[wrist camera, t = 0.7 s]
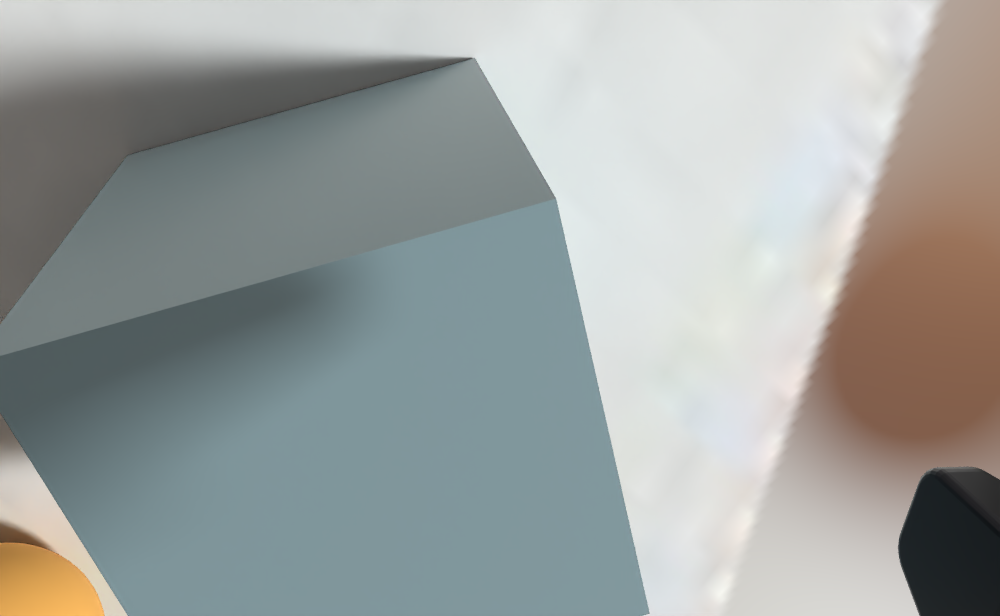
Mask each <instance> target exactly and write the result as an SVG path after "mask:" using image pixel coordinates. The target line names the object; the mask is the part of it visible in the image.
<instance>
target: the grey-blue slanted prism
mask: <svg viewBox="0 0 1000 616" xmlns="http://www.w3.org/2000/svg"><path fill="white" fill-rule="evenodd" d="M0 413H1V415H2V416H3V418H4V420H5V421H6V423H7V424H8V426H9V427H10V429H11V431H12V432H13V434H14V435H15V437H16V439H17V440H18V442H19V443H20V445H21V447H22V448H23V450H24V451H25V453H26V454H27V456H28V458H29V459H30V461H31V462H32V464H33V466H34V467H35V469H36V470H37V472H38V474H39V475H40V477H41V478H42V480H43V482H44V483H45V485H46V486H47V488H48V489H49V491H50V493H51V494H52V496H53V497H54V499H55V501H56V502H57V504H58V505H59V507H60V509H61V510H62V512H63V513H64V515H65V516H66V518H67V520H68V521H69V523H70V524H71V526H72V528H73V529H74V531H75V532H76V534H77V536H78V537H79V539H80V540H81V542H82V543H83V545H84V547H85V548H86V550H87V551H88V553H89V555H90V556H91V558H92V559H93V561H94V563H95V564H96V566H97V567H98V569H99V571H100V572H101V574H102V575H103V577H104V578H105V580H106V582H107V583H108V585H109V586H110V588H111V590H112V591H113V593H114V594H115V596H116V598H117V599H118V601H119V602H120V604H121V605H122V607H123V609H124V610H125V612H126V613H127V615H128V616H643V615H646V614H649V609H648V605H647V600H646V596H645V591H644V587H643V582H642V578H641V574H640V569H639V565H638V560H637V556H636V551H635V547H634V543H633V538H632V534H631V529H630V525H629V520H628V516H627V511H626V507H625V503H624V498H623V494H622V489H621V485H620V480H619V476H618V472H617V467H616V463H615V458H614V454H613V449H612V445H611V440H610V436H609V432H608V427H607V423H606V418H605V414H604V409H603V405H602V401H601V396H600V392H599V387H598V383H597V378H596V374H595V369H594V365H593V361H592V356H591V352H590V347H589V343H588V338H587V334H586V330H585V325H584V321H583V316H582V312H581V307H580V303H579V299H578V294H577V290H576V285H575V281H574V276H573V272H572V267H571V263H570V259H569V254H568V250H567V245H566V241H565V236H564V232H563V228H562V223H561V219H560V214H559V210H558V205H557V201H556V198H555V196H554V194H553V193H552V191H551V189H550V187H549V186H548V184H547V182H546V180H545V179H544V177H543V175H542V174H541V172H540V170H539V168H538V167H537V165H536V163H535V161H534V160H533V158H532V156H531V155H530V153H529V151H528V149H527V148H526V146H525V144H524V142H523V141H522V139H521V137H520V136H519V134H518V132H517V130H516V129H515V127H514V125H513V123H512V122H511V120H510V118H509V116H508V115H507V113H506V111H505V110H504V108H503V106H502V104H501V103H500V101H499V99H498V97H497V96H496V94H495V92H494V91H493V89H492V87H491V85H490V84H489V82H488V80H487V78H486V77H485V75H484V73H483V72H482V70H481V68H480V66H479V65H478V63H477V61H476V59H475V58H473V59H470V60H466V61H462V62H459V63H455V64H452V65H448V66H445V67H441V68H437V69H434V70H430V71H427V72H423V73H420V74H416V75H412V76H409V77H405V78H402V79H398V80H395V81H391V82H387V83H384V84H380V85H377V86H373V87H370V88H366V89H362V90H359V91H355V92H352V93H348V94H345V95H341V96H337V97H334V98H330V99H327V100H323V101H320V102H316V103H312V104H309V105H305V106H302V107H298V108H295V109H291V110H288V111H284V112H280V113H277V114H273V115H270V116H266V117H263V118H259V119H255V120H252V121H248V122H245V123H241V124H238V125H234V126H230V127H227V128H223V129H220V130H216V131H213V132H209V133H205V134H202V135H198V136H195V137H191V138H188V139H184V140H180V141H177V142H173V143H170V144H166V145H163V146H159V147H155V148H152V149H148V150H145V151H141V152H138V153H134V154H130V155H127V156H126V158H125V159H124V160H123V162H122V163H121V164H120V166H119V167H118V168H117V170H116V171H115V172H114V174H113V175H112V176H111V178H110V179H109V180H108V182H107V183H106V184H105V186H104V187H103V188H102V190H101V191H100V192H99V194H98V195H97V196H96V198H95V199H94V200H93V202H92V203H91V204H90V206H89V207H88V208H87V210H86V211H85V212H84V214H83V215H82V216H81V218H80V219H79V220H78V222H77V223H76V224H75V226H74V227H73V228H72V230H71V231H70V232H69V234H68V235H67V236H66V238H65V239H64V240H63V241H62V243H61V244H60V245H59V247H58V248H57V249H56V251H55V252H54V253H53V255H52V256H51V257H50V259H49V260H48V261H47V263H46V264H45V265H44V267H43V268H42V269H41V271H40V272H39V273H38V275H37V276H36V277H35V279H34V280H33V281H32V283H31V284H30V285H29V287H28V288H27V289H26V291H25V292H24V293H23V295H22V296H21V297H20V299H19V300H18V301H17V303H16V304H15V305H14V307H13V308H12V309H11V311H10V312H9V313H8V315H7V316H6V317H5V319H4V320H3V321H2V323H1V324H0Z"/></svg>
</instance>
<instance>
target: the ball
mask: <svg viewBox="0 0 1000 616" xmlns="http://www.w3.org/2000/svg"><path fill="white" fill-rule="evenodd" d="M0 616H104V611H103V608H102V605H101V602H100V599H99V597H98V594H97V593H96V591H95V589H94V587H93V586H92V584H91V583H90V581H89V580H88V579H87V577H86V576H85V575H84V574H83V573H82V572H81V571H80V570H79V569H78V568H77V567H76V566H75V565H73V564H72V563H71V562H70V561H68V560H67V559H65V558H63V557H62V556H60V555H59V554H56V553H54V552H52V551H50V550H47V549H45V548H42V547H38V546H34V545H30V544H23V543H0Z"/></svg>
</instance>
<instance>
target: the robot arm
mask: <svg viewBox="0 0 1000 616" xmlns="http://www.w3.org/2000/svg"><path fill="white" fill-rule="evenodd" d="M898 550H899V559H900V563H901V567H902V570H903V572H904V575H905V578H906V580H907V583H908V586H909V588H910V591H911V594H912V596H913V599H914V602H915V605H916V607H917V610H918V613H919V615H920V616H1000V480H999V479H998V478H996V477H994V476H992V475H991V474H989V473H987V472H985V471H983V470H981V469H979V468H975V467H937V468H933V469H930V470H928V471H927V472H926V473H925V474H924V475H923V476H922V477H921V479H920V481H919V484H918V486H917V489H916V492H915V494H914V497H913V500H912V503H911V506H910V508H909V511H908V514H907V517H906V519H905V522H904V525H903V528H902V530H901V533H900V537H899V545H898Z"/></svg>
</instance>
